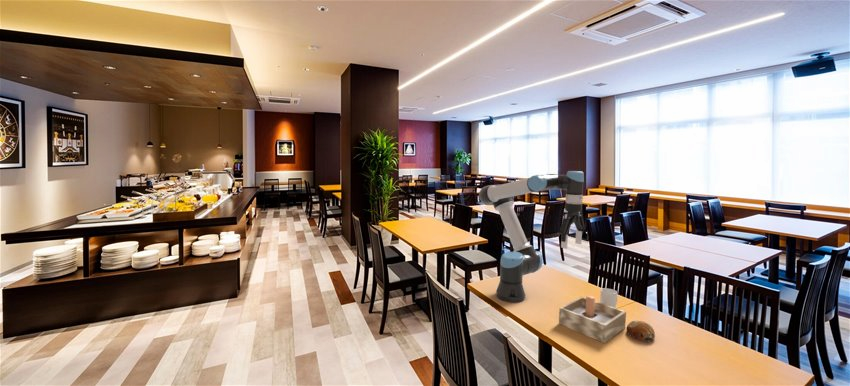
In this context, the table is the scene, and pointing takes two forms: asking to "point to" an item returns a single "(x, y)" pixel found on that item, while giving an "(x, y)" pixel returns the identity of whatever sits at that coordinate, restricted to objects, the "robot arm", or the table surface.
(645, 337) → the bread roll
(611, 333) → the socket box
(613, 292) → the mug
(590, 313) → the peg
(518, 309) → the table surface
